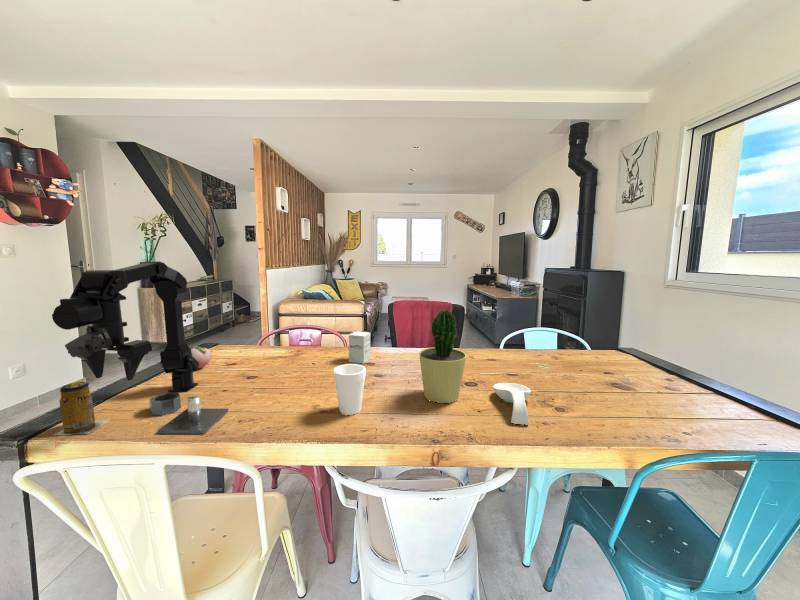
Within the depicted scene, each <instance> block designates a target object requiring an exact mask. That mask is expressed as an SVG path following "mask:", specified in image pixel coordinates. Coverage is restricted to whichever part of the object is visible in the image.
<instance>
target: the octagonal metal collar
mask: <svg viewBox="0 0 800 600" xmlns="http://www.w3.org/2000/svg"><path fill="white" fill-rule="evenodd" d="M148 400H149V412H150V414H151V416H152V417H158V416H159V417H161V416H162V417H163V415H164V416H166V414H167V415H170V414H171V415H172V414H174V413H176V412H177V411H178V410H180V409H181V408H182V404H181V395H180V392H179V391H168V392H163V393H159V394H155V395H154V396H153V397H150V398H149V399H148Z"/></svg>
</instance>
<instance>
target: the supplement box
mask: <svg viewBox="0 0 800 600" xmlns="http://www.w3.org/2000/svg"><path fill="white" fill-rule="evenodd" d="M369 359H370V360H371V332H369V331H353V332H351V333H349V334H348V363H352V364H360V363H362V364H361V365H365V364H366V363H367V362H369V361H370V360H369ZM368 360H369V361H368ZM366 361H367V362H366ZM365 362H366V363H365ZM364 363H365V364H364Z"/></svg>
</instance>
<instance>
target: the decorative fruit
mask: <svg viewBox="0 0 800 600" xmlns="http://www.w3.org/2000/svg"><path fill="white" fill-rule="evenodd" d="M190 349H191V352H192V357H194V358H195V359H196V360H197V361H198V362H199V368H198V370H199V369H202V368H204V367H205V366H207V365H209V363H210V362H211V360H212V357H213V356H212V355H213V354H212V351H210V349H209V348H207V347H202V346H201V347H200V346H199V344H197V345H196V346H192V347H190Z"/></svg>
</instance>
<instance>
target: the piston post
mask: <svg viewBox="0 0 800 600" xmlns="http://www.w3.org/2000/svg"><path fill="white" fill-rule="evenodd" d="M186 400H187V401H186V402H187V408H186V409H184V410H183V411H182V412H180V414H178V415H177V416H175V417H174V418H173V419H171V420H169V421H168V422H167V423H166V424H164V425H163V426H162V427H159V429H157V433H158V435H205V434H206V433H207V432H209V431H208V430H209V429H210V428H211V427H212V426H213V425H214V424H215V423H216V424H217V423H218V422H219V421H220V420H222V418H224V416H225V415H227V414H228V413H227V412H229V408H202V405H201V396H199V395H194V396H190V397H188V398H187V399H186ZM226 413H227V414H226ZM216 424H215V425H216ZM215 425H214V426H215ZM214 426H213V427H214ZM213 427H212V428H213ZM212 428H211V429H212ZM211 429H210V430H211Z"/></svg>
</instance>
